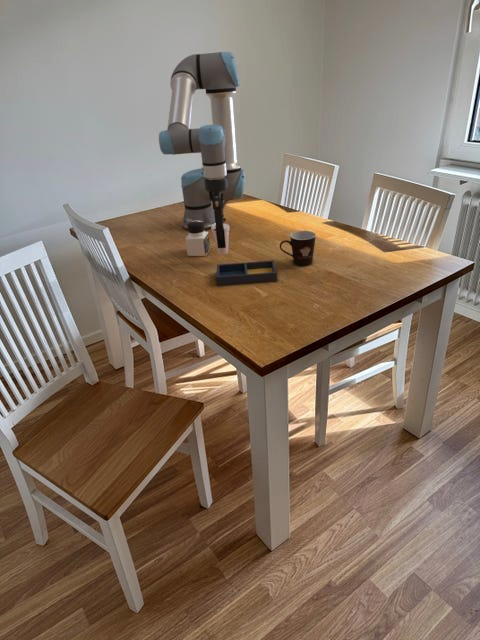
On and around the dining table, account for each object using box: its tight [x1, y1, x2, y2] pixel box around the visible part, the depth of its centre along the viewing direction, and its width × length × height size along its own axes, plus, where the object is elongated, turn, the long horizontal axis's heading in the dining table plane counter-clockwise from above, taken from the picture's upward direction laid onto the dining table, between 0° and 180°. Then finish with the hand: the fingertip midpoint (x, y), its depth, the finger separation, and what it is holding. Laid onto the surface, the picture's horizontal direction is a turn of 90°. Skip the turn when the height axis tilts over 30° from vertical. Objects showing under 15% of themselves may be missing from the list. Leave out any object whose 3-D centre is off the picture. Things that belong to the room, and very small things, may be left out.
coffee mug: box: [279, 230, 317, 267], centre depth 156 cm, size 12×9×10 cm
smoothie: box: [210, 222, 230, 255], centre depth 157 cm, size 6×6×14 cm
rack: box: [215, 260, 278, 287], centre depth 151 cm, size 10×19×3 cm, turn 91°
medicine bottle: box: [184, 221, 211, 257], centre depth 169 cm, size 7×7×12 cm
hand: (221, 243), depth 159 cm, fingers closed on smoothie, 6 cm apart
